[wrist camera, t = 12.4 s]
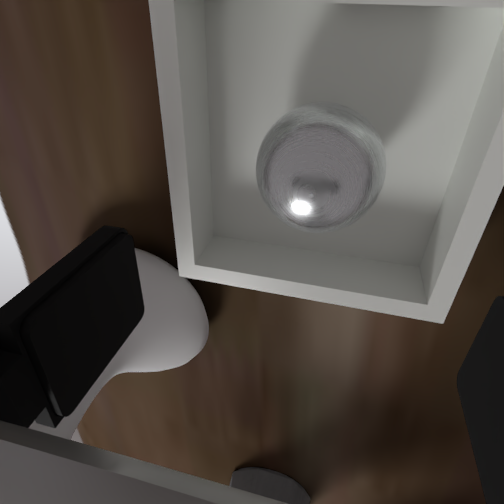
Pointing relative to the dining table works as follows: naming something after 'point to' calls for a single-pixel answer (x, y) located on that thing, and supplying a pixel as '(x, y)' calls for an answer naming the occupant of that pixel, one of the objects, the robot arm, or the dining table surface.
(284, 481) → the coffeepot
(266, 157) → the steel ball
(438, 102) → the tray
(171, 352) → the flower in vase
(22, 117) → the dining table surface
